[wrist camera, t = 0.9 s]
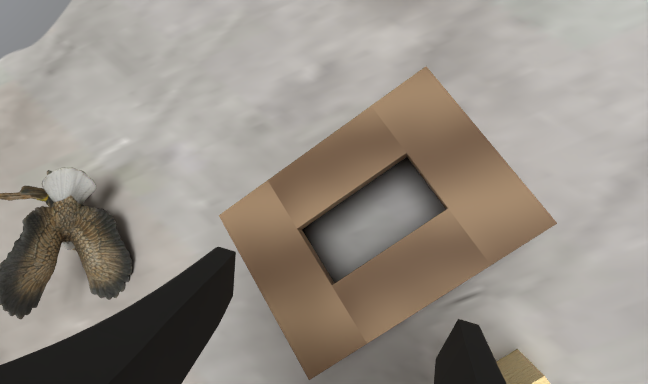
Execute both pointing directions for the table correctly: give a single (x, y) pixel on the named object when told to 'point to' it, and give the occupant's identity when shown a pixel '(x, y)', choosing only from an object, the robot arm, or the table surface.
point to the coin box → (404, 256)
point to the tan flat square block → (520, 370)
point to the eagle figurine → (69, 229)
